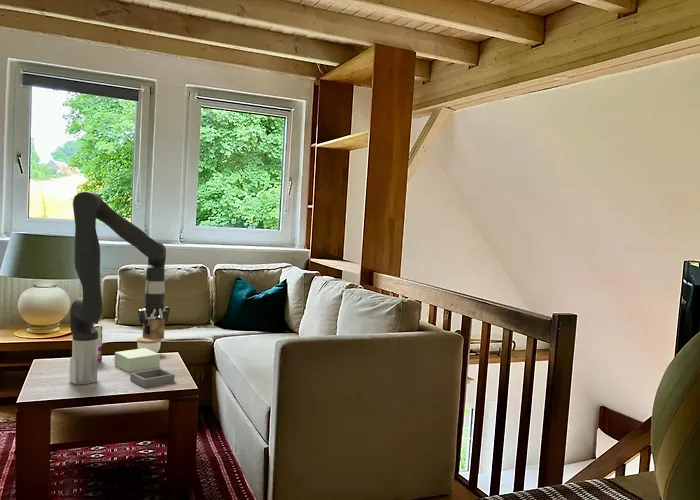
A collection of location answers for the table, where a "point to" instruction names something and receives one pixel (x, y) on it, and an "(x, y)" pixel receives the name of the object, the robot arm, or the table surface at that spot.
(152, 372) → the charcoal bin
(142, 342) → the lidded jar
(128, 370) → the block
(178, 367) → the table surface
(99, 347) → the candy bar box
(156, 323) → the walnut parts box
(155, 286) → the robot arm
